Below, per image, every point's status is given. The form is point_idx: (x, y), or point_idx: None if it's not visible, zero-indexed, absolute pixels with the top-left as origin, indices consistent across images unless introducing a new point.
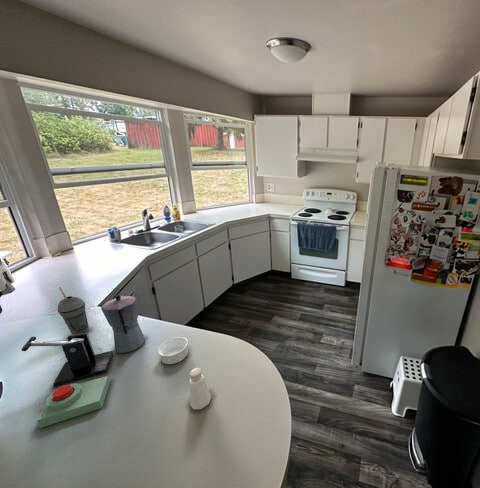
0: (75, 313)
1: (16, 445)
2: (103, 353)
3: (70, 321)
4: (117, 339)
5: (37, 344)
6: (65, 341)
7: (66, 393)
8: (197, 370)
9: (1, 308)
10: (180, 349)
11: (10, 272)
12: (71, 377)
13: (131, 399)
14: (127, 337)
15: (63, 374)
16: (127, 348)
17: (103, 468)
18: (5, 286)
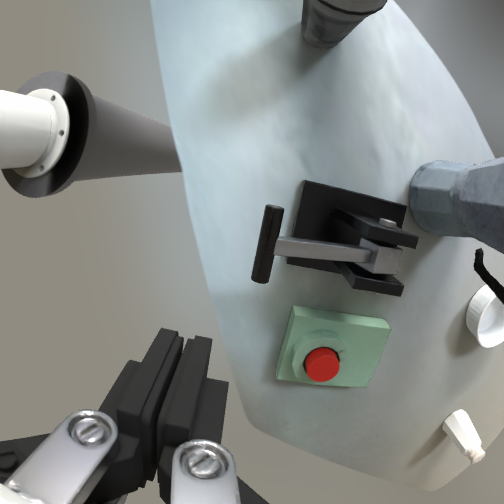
0: (357, 18)
1: (247, 379)
2: (389, 206)
3: (326, 24)
4: (441, 222)
5: (291, 255)
6: (360, 250)
7: (329, 378)
8: (481, 457)
9: (226, 393)
10: (497, 301)
11: None
12: (322, 265)
13: (399, 380)
14: (461, 236)
15: (305, 238)
16: (437, 233)
17: (343, 454)
18: None
